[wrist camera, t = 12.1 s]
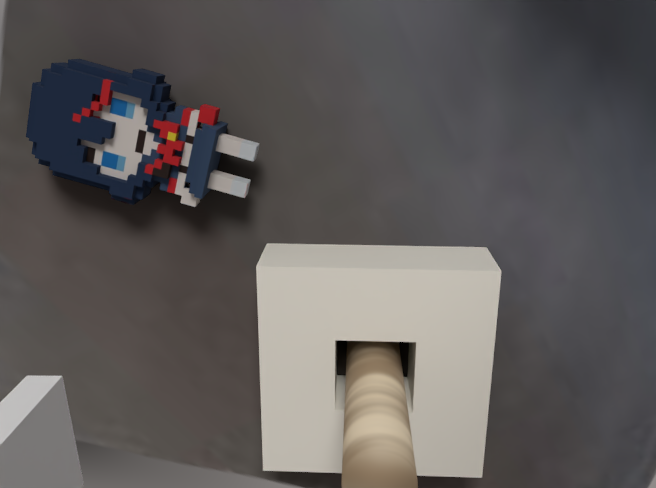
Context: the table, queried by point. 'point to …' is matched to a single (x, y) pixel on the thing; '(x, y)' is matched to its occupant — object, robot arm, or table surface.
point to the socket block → (376, 325)
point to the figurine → (129, 134)
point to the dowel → (376, 419)
